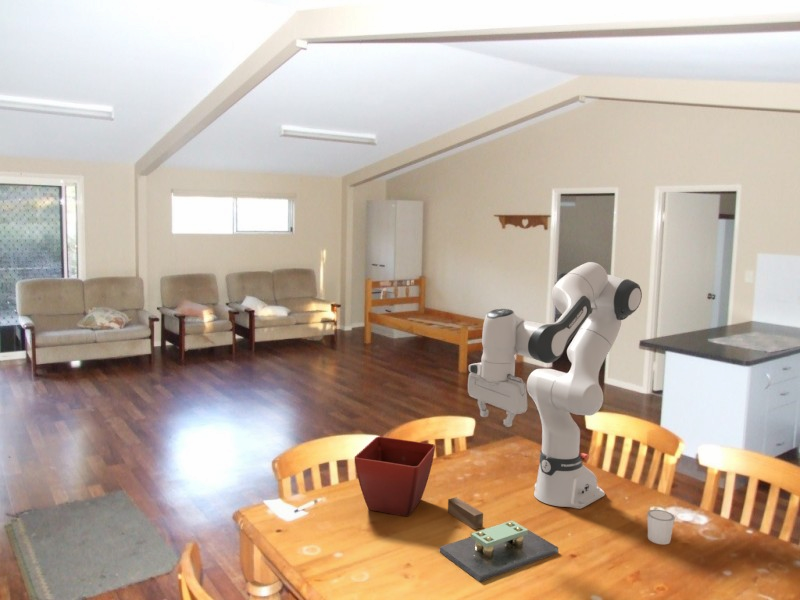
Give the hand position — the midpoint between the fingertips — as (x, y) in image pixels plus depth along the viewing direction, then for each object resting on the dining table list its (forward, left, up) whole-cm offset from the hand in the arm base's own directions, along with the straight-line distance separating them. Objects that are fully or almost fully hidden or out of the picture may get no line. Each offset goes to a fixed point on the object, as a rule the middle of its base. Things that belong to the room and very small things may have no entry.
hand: (495, 421), depth 178 cm
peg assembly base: (+6, +10, -31) cm, 33 cm away
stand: (+2, -9, -31) cm, 32 cm away
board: (+6, +10, -27) cm, 29 cm away
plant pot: (+14, -27, -31) cm, 44 cm away
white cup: (-36, +27, -31) cm, 55 cm away
